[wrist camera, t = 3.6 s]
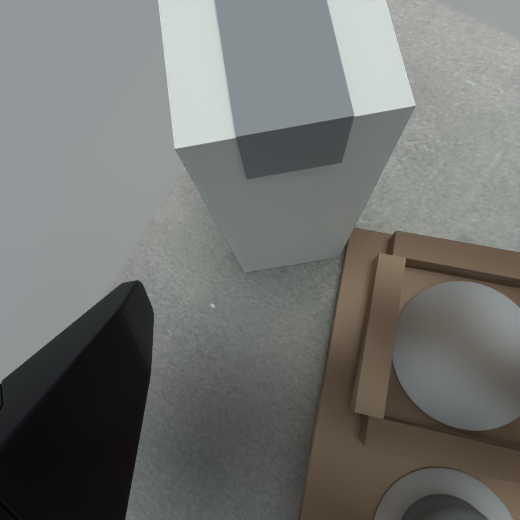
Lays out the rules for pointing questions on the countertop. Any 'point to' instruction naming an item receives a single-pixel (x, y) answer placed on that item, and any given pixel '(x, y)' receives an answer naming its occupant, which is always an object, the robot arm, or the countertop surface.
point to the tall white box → (284, 117)
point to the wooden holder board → (419, 385)
